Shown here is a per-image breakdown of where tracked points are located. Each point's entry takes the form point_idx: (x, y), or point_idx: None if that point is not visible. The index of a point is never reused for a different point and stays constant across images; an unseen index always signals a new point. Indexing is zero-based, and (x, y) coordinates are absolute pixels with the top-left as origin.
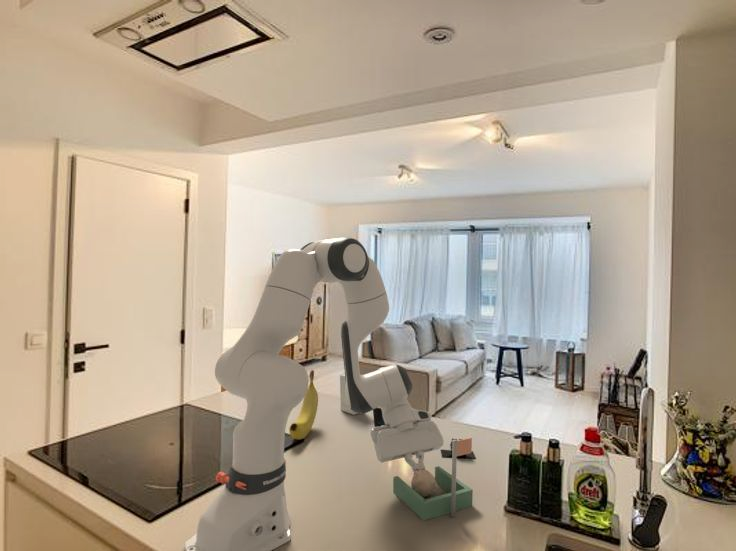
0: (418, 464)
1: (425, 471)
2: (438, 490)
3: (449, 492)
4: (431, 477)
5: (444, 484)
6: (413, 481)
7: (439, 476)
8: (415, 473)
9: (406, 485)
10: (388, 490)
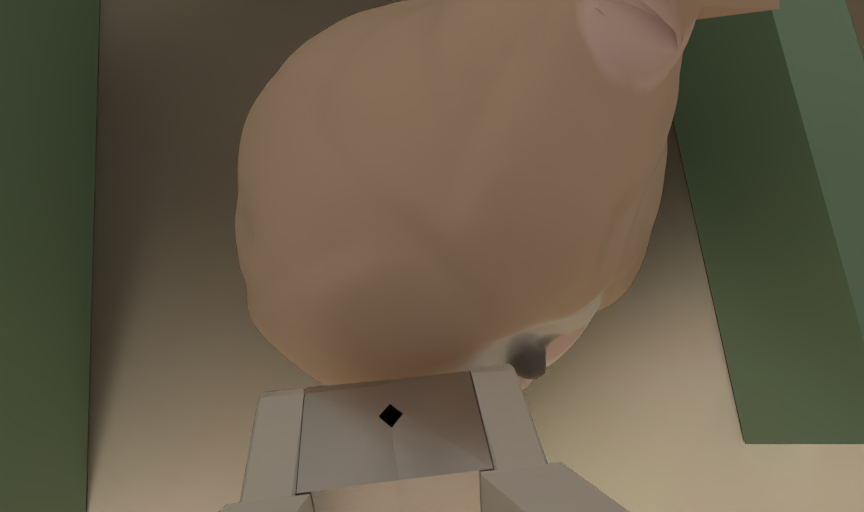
0: (419, 447)
1: (430, 75)
2: (191, 277)
3: (92, 181)
4: (349, 32)
5: (63, 266)
6: (664, 153)
7: (18, 391)
8: (659, 120)
9: (825, 84)
10: (857, 508)
